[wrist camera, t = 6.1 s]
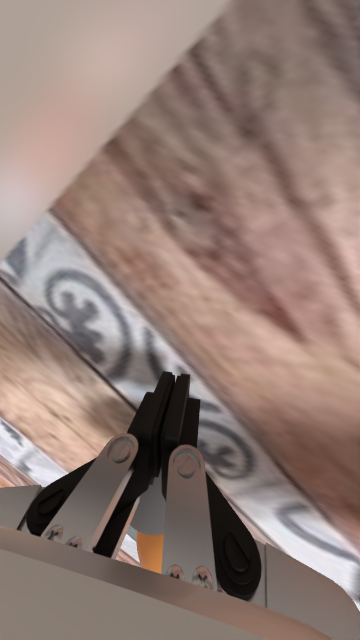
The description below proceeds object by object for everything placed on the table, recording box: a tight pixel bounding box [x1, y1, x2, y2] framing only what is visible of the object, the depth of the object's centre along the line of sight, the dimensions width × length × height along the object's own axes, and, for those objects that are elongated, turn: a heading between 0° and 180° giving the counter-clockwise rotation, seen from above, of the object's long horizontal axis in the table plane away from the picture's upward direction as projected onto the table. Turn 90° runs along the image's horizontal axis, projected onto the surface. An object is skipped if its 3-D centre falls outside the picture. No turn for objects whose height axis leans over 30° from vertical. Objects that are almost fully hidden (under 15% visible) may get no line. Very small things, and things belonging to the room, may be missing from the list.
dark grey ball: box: [130, 470, 166, 535], centre depth 12 cm, size 6×6×6 cm
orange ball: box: [136, 531, 164, 574], centre depth 14 cm, size 6×6×6 cm
